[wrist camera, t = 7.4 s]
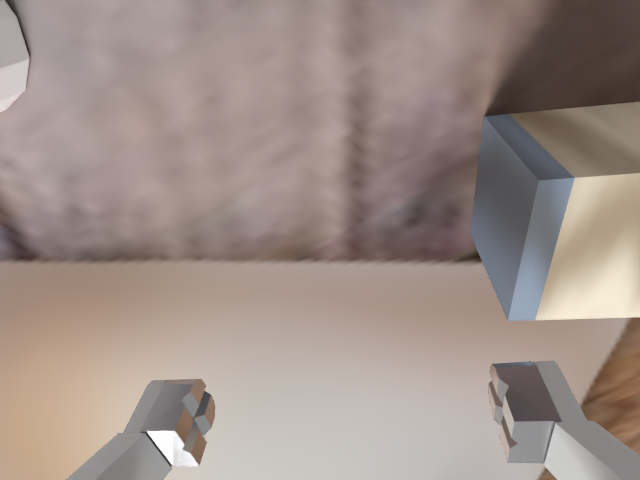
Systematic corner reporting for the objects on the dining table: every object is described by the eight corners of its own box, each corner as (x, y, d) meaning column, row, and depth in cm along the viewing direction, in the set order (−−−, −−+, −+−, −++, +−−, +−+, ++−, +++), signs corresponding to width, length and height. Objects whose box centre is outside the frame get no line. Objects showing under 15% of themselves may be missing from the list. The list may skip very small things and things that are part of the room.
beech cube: (538, 180, 12) (768, 163, 11) (484, 116, 16) (639, 101, 16) (507, 320, 15) (680, 315, 14) (470, 233, 20) (597, 225, 19)
